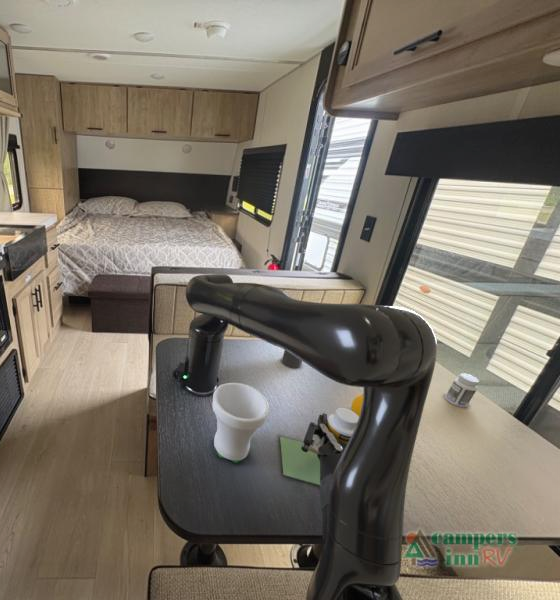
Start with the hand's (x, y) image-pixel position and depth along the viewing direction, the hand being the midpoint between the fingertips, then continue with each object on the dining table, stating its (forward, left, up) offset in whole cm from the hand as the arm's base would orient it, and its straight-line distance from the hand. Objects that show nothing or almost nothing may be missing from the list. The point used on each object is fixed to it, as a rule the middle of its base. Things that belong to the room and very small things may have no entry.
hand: (340, 422), depth 62 cm
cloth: (0, -2, -11) cm, 11 cm away
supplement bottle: (0, -3, -6) cm, 7 cm away
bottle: (-3, +36, -11) cm, 37 cm away
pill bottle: (+41, +33, -11) cm, 53 cm away
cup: (-20, -4, -11) cm, 24 cm away
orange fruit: (+13, +16, -11) cm, 23 cm away
